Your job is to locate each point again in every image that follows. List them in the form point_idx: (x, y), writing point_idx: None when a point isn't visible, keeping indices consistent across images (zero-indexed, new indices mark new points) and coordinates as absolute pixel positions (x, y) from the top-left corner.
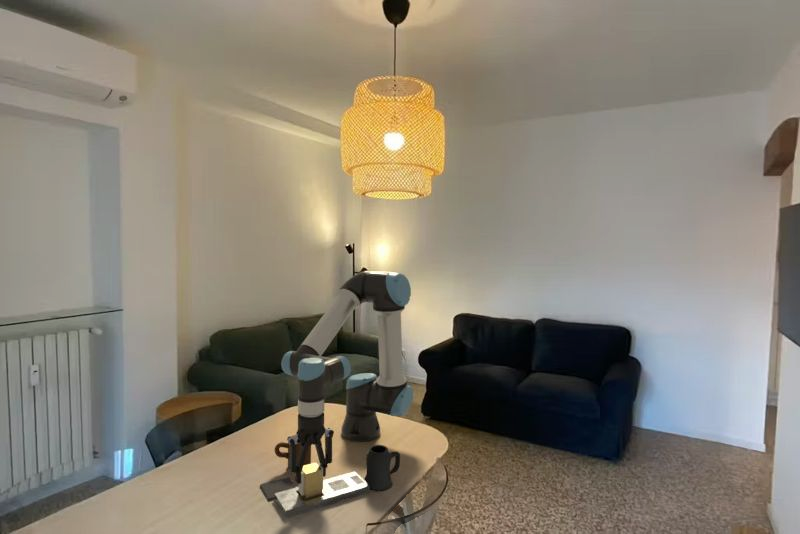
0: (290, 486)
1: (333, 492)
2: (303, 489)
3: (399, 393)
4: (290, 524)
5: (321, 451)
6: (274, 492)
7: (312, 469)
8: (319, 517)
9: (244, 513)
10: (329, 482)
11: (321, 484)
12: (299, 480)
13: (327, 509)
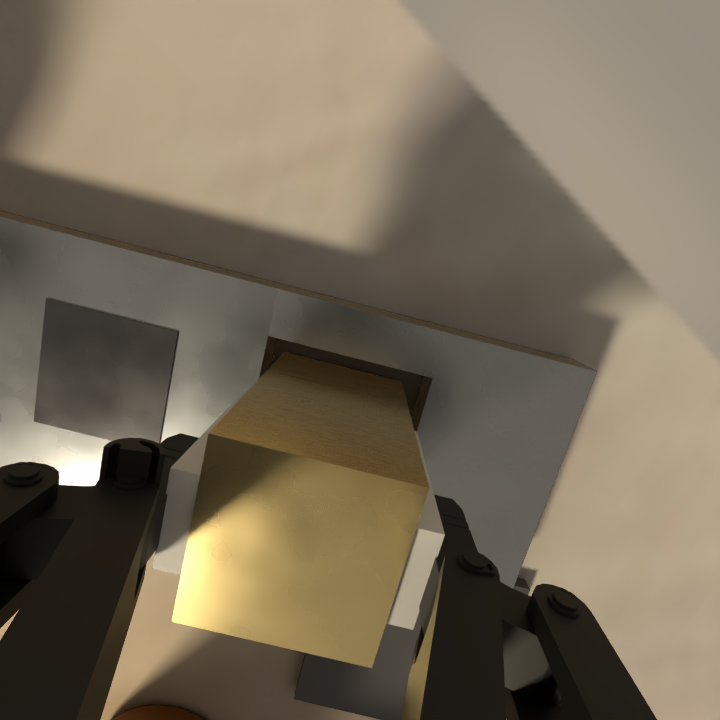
0: None
1: (194, 321)
2: None
3: None
4: (597, 277)
5: (25, 677)
6: None
7: (299, 519)
8: (414, 203)
9: (703, 567)
10: None
11: (262, 383)
12: (440, 512)
13: (316, 242)
